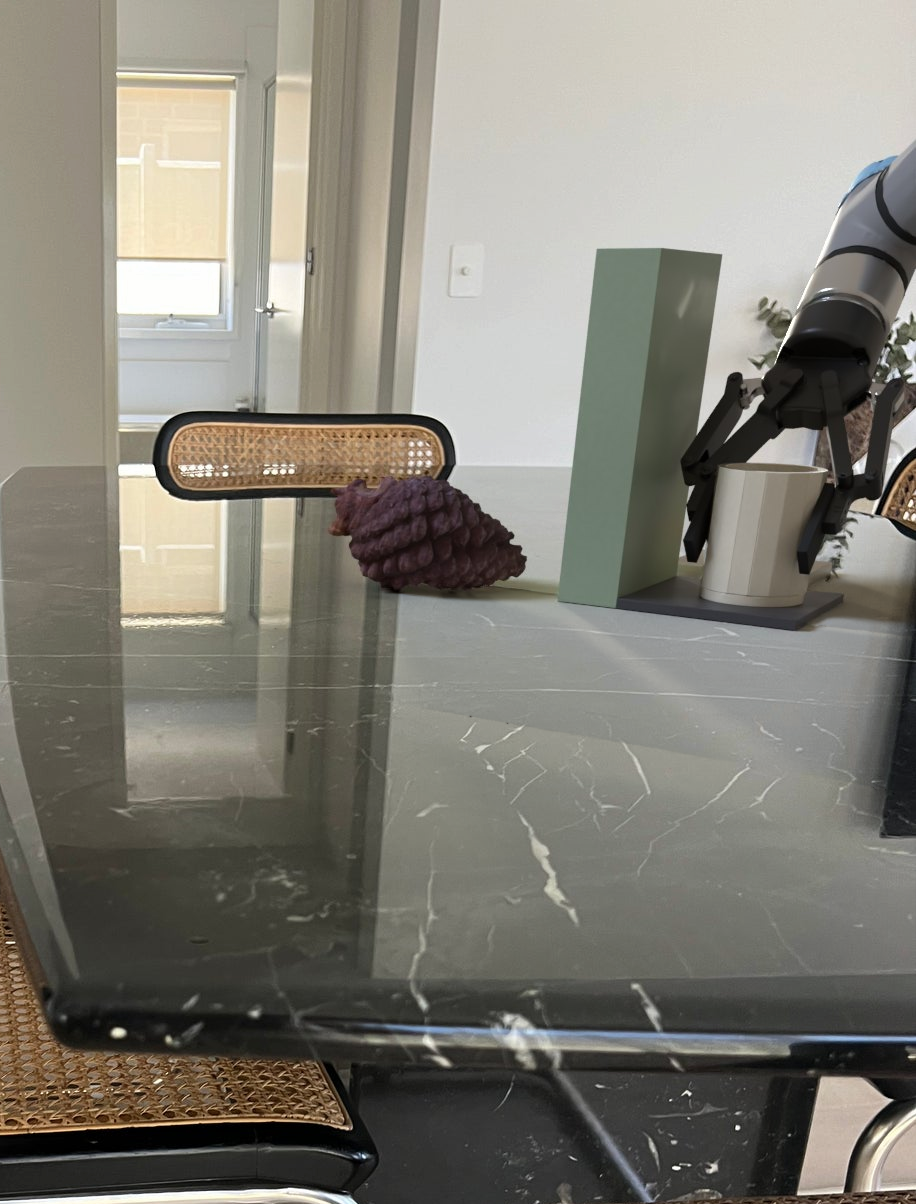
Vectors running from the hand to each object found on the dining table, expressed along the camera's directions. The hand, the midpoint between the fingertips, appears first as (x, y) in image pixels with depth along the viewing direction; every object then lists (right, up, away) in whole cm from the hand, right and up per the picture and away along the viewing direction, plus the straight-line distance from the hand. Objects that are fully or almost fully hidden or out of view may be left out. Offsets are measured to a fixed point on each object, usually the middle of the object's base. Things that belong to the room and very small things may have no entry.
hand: (745, 557), depth 114 cm
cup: (+2, -2, +4) cm, 5 cm away
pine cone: (-24, 0, +11) cm, 26 cm away
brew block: (+7, +4, +19) cm, 20 cm away
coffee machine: (-2, -2, +7) cm, 7 cm away
